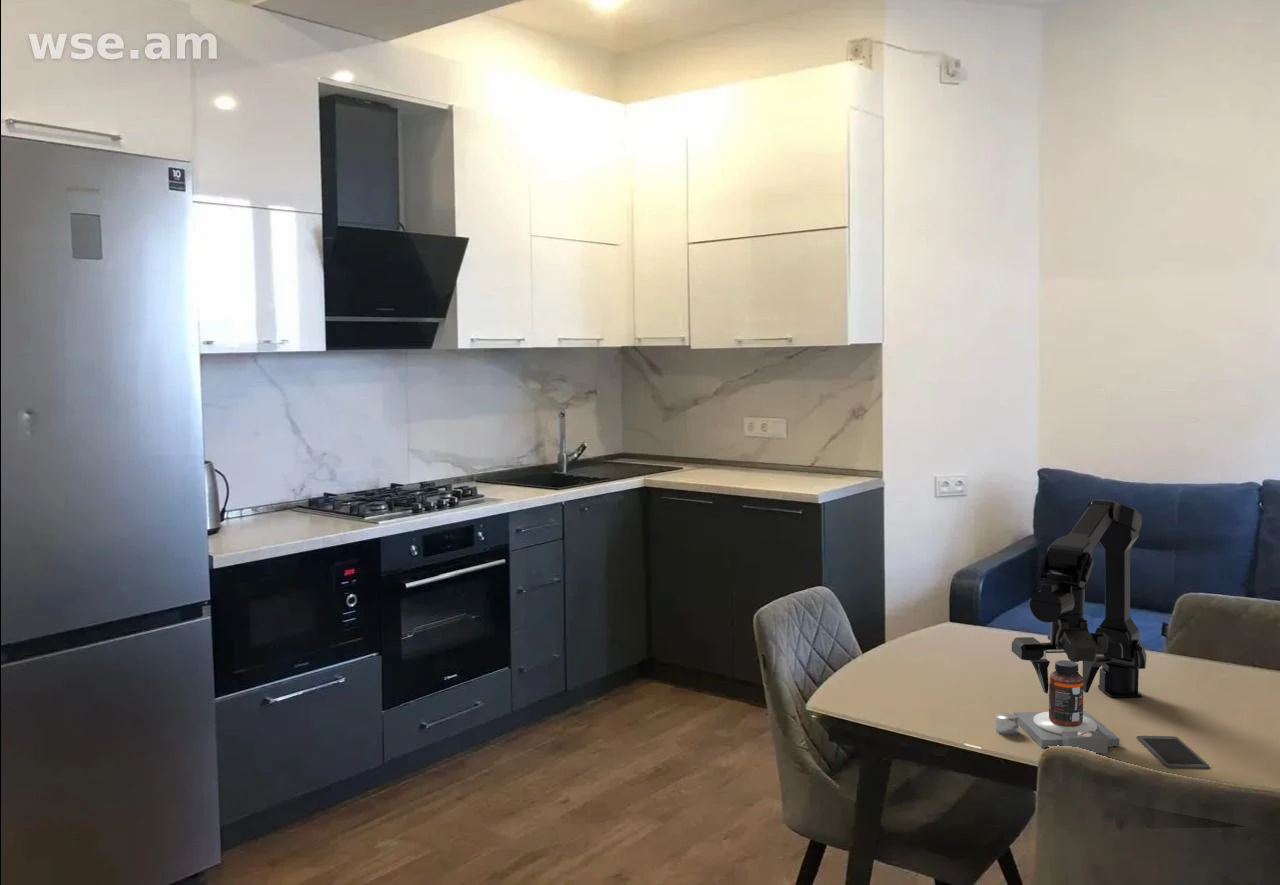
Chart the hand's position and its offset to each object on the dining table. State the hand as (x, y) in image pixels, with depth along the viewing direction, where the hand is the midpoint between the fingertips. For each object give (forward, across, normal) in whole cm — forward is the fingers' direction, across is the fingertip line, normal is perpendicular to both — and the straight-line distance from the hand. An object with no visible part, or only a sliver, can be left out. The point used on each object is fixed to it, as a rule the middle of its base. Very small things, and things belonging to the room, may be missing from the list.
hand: (1065, 692), depth 192 cm
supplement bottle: (+6, 0, 0) cm, 6 cm away
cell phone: (+8, +15, -10) cm, 20 cm away
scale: (+8, 0, -2) cm, 8 cm away
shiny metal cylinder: (+8, -10, +1) cm, 13 cm away
